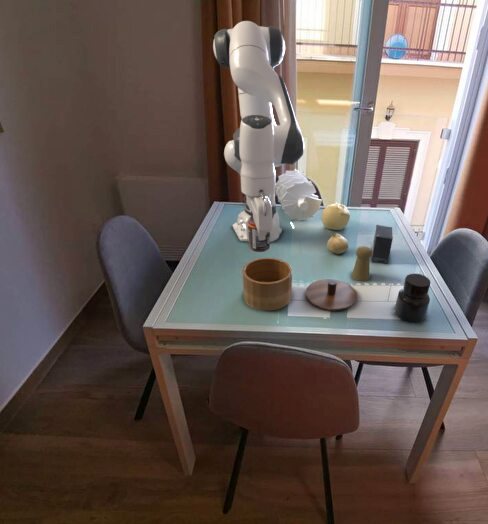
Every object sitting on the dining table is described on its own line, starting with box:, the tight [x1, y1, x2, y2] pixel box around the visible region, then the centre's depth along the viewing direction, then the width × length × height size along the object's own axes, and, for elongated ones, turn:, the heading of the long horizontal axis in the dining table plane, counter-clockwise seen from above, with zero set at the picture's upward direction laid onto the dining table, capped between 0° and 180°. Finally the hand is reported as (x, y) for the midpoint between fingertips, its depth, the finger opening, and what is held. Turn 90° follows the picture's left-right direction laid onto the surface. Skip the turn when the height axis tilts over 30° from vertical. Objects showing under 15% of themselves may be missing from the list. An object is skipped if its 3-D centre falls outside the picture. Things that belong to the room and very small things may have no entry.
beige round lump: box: [321, 202, 351, 231], centre depth 154 cm, size 11×12×11 cm
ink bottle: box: [394, 272, 432, 323], centre depth 103 cm, size 10×9×12 cm
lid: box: [305, 278, 358, 311], centre depth 111 cm, size 16×16×5 cm
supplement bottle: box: [248, 211, 271, 253], centre depth 98 cm, size 6×6×11 cm
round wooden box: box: [241, 257, 293, 312], centre depth 108 cm, size 15×15×10 cm
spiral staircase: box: [275, 168, 323, 221], centre depth 165 cm, size 18×18×25 cm
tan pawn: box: [351, 245, 372, 282], centre depth 120 cm, size 6×6×11 cm
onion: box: [326, 233, 349, 255], centre depth 136 cm, size 8×8×7 cm
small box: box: [370, 224, 394, 264], centre depth 133 cm, size 11×6×10 cm, turn 168°
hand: (259, 233), depth 98 cm, fingers closed on supplement bottle, 6 cm apart
